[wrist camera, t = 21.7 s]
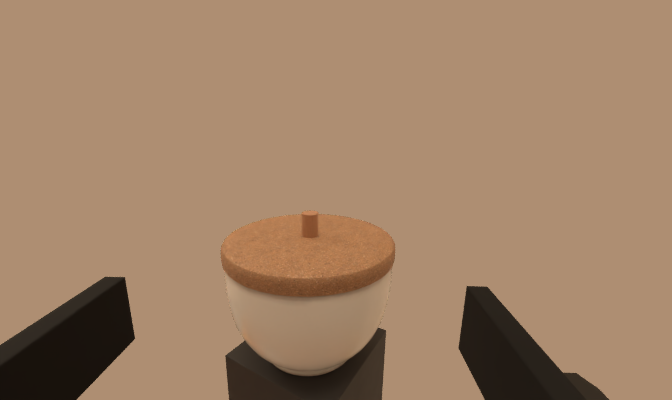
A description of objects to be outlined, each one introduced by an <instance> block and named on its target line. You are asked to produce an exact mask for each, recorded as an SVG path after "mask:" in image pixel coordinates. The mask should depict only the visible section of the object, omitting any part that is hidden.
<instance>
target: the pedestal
mask: <svg viewBox="0 0 672 400" xmlns="http://www.w3.org/2000/svg"><path fill="white" fill-rule="evenodd" d="M385 338H386V330H383V329H380V328H377V330H376V332H375V334H374V335H373V337H372V339H371V340H370V341H369V342H368V343H367V344H366V345H365V346H364V348H363V349H362V350H361V351H360V352H358V353H357V354H356V355H354V356H353V357H352V358H350V359H349V360H347V361H346V362H345V363H344V364H343V365H342V366H340V367H339V368H337V369H335V370H333V371H331V372H328V373H326V374H321V375H316V376H299V375H293V374H290V373H286V372H284V371H282V370H280V369H279V368H277V367H276V366H275V365H274V364H272V363H270V362H269V361H267V360H265V359H264V358H262V357H261V356H259V355H258V354H257V353H256V352H255V351H254V350H253V349H252V348H251V347H250V346H249V345H248V344H247V343H246V341H244V342H243V343H241V344H240V345H239V346H238V347H236V348H235V349H233V350H232V351H231V352H230V353H228V354H227V355H226V368H227V379H228V391H229V400H382V386H383V385H382V384H383V370H384V354H385Z"/></svg>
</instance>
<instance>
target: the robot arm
mask: <svg viewBox="0 0 672 400" xmlns="http://www.w3.org/2000/svg"><path fill="white" fill-rule="evenodd" d="M134 339H135V336H134V330H133V324H132V318H131V312H130V307H129V300H128V294H127V287H126V281H125V277H104V278H103V279H101V280H100V281H98V282H97V283H95V284H94V285H92V286H91V287H89V288H87V289H86V290H84V291H83V292H81V293H80V294H78V295H77V296H75V297H74V298H72V299H70V300H69V301H67V302H66V303H64V304H63V305H61V306H60V307H58V308H57V309H55V310H54V311H52V312H50V313H49V314H47V315H46V316H44V317H43V318H41V319H40V320H38V321H37V322H35V323H33V324H32V325H30V326H29V327H27V328H26V329H24V330H23V331H21V332H20V333H18V334H17V335H15V336H14V337H12V338H10V339H9V340H7V341H6V342H4V343H3V344H1V345H0V400H77V398H78V397H79V396H80V395H81V394H82V393H83V392H84V391H85V390H86V389H87V388H88V387H89V386H90V385H91V384H92V383H93V382H94V381H95V380H96V379H97V378H98V377H99V376H100V374H102V372H103V371H104V370H105V369H106V368H107V367H108V366H109V365H110V364H111V363H112V362H113V361H114V360H115V359H116V358H117V357H118V356H119V355H120V354H121V353H122V352H123V351H124V350H125V348H127V346H128V345H129V344H130V343H131V342H132V341H133V340H134ZM459 350H460V352H461V354H462V356H463V358H464V360H465V362H466V364H467V366H468V367H469V370H470V371H471V373H472V375H473V377H474V379H475V381H476V383H477V385H478V387H479V389H480V391H481V393H482V395H483V397H484V399H485V400H609V399H608V398H607V397H606V396H605V395H604V394H603V393H602V392H601V391H600V390H599V389H598V388H597V387H595V386H594V385H592V384H591V383H589V382H588V381H586V380H585V379H584V378H582V377H581V376H580V375H578V374H577V373H563V372H562V371H561V370H560V369H559V368H558V367H557V366H556V365H555V363H554V362H553V361H552V360H551V359H550V358H549V357H548V356H547V354H546V353H545V352H544V351H543V350H542V349H541V347H539V345H538V344H537V343H536V342H535V341H534V340H533V339H532V337H531V336H530V335H529V334H528V333H527V332H526V330H525V329H524V328H523V327H522V326H521V325H520V324H519V322H518V321H517V320H516V319H515V318H514V317H513V316H512V314H511V313H510V312H509V311H508V310H507V309H506V308H505V307H504V305H502V303H501V302H500V301H499V300H498V299H497V298H496V296H495V295H494V294H493V293H492V292H491V291H490V289H489V288H488V287H475V286H467V289H466V296H465V304H464V312H463V319H462V327H461V334H460V342H459Z"/></svg>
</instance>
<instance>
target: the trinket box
mask: <svg viewBox="0 0 672 400" xmlns="http://www.w3.org/2000/svg"><path fill="white" fill-rule="evenodd" d="M394 259H395V243H394V241H393V239H392V237H391V236H390V235H389V234H388V233H387V232H385V231H384V230H383V229H381V228H379V227H377V226H375V225H373V224H371V223H368V222H365V221H362V220H358V219H354V218H349V217H344V216H336V215H325V214H318V212H316V211H304V212H302V214H298V215H286V216H279V217H273V218H268V219H264V220H260V221H257V222H253V223H251V224H248V225H245V226H243V227H241V228H239V229H237V230H235V231H234V232H232V233H231V234H230V235H229V236H228V237H227V238H226V239H225V240H224V242H223V244H222V246H221V261H222V266H223V269H224V271H225V284H226V291H227V297H228V301H229V305H230V309H231V312H232V316H233V319H234V321H235V324H236V327H237V329H238V330H239V332H240V333H241V335H242V337H243V338H244V340H245V341H246V343H247V344H248V345H249V346H250V347H251V348H252V349H253V350H254V351H255V352H256V353H257V354H258V355H259V356H261V357H262V358H264V359H265V360H267V361H269V362H270V363H272V364H274V365H275V366H276V367H277V368H279V369H280V370H282V371H284V372H286V373H290V374H293V375H299V376H316V375H321V374H326V373H328V372H331V371H333V370H335V369H337V368H339V367H340V366H342V365H343V364H344V363H345V362H346V361H347V360H349V359H350V358H352V357H353V356H354V355H356V354H357V353H358V352H360V351H361V350H362V349H363V348H364V346H365V345H366V344H367V343H368V342H369V341H370V340H371V339H372V337H373V335H374V334H375V332H376V330H377V328H378V327H379V325H380V323H381V320H382V317H383V314H384V312H385V308H386V305H387V301H388V296H389V292H390V284H391V274H392V266H393V263H394Z"/></svg>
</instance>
